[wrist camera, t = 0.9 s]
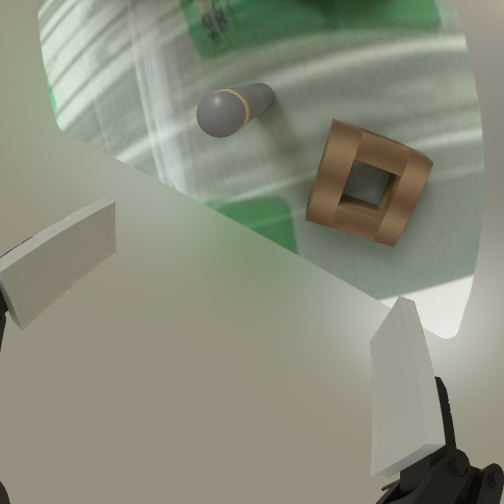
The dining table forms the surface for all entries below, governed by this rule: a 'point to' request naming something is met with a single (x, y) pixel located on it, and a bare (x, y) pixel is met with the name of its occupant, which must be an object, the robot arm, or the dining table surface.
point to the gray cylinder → (232, 108)
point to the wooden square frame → (356, 211)
